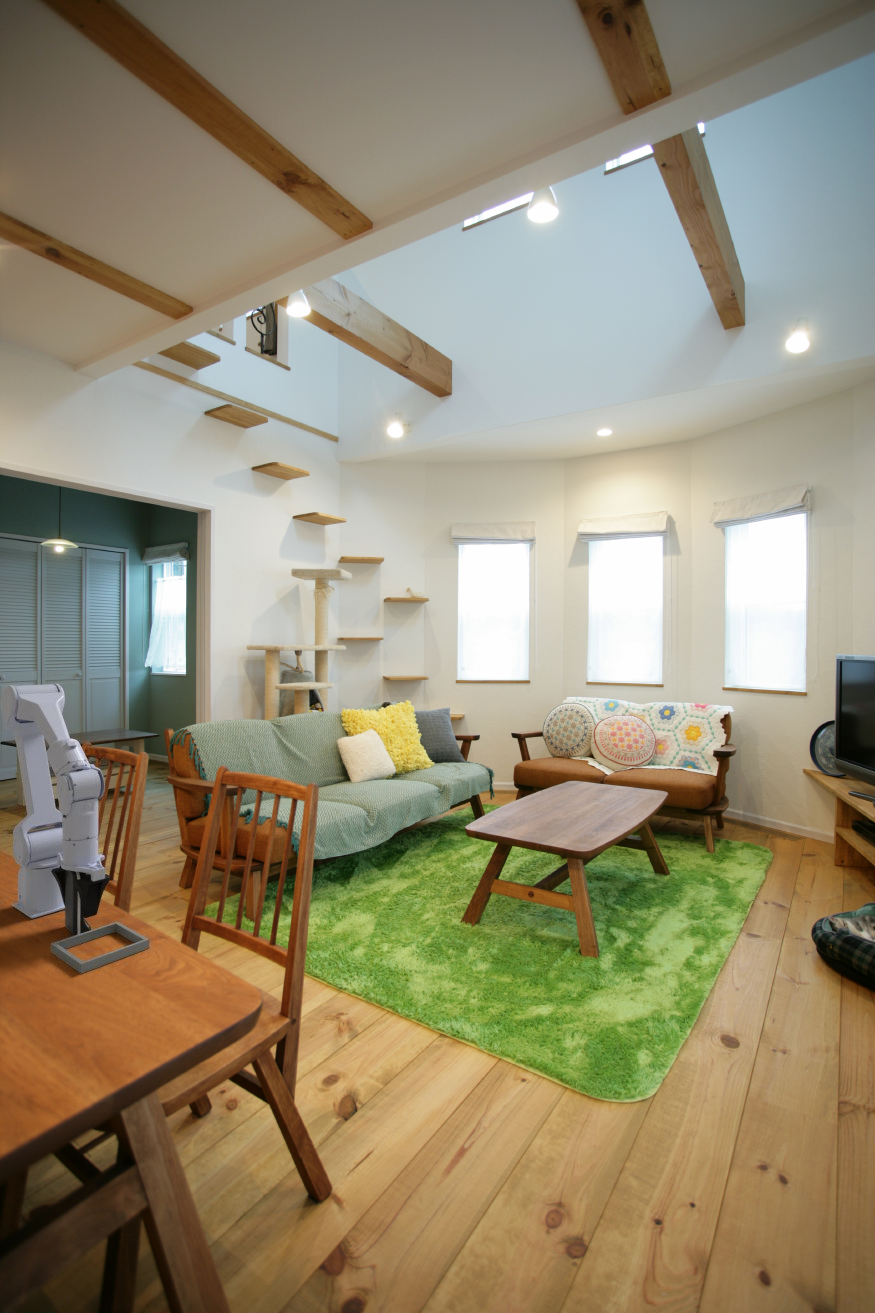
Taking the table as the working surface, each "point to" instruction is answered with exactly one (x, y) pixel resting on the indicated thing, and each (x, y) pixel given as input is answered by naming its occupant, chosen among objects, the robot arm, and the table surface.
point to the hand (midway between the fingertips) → (80, 910)
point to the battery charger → (74, 905)
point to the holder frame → (80, 966)
